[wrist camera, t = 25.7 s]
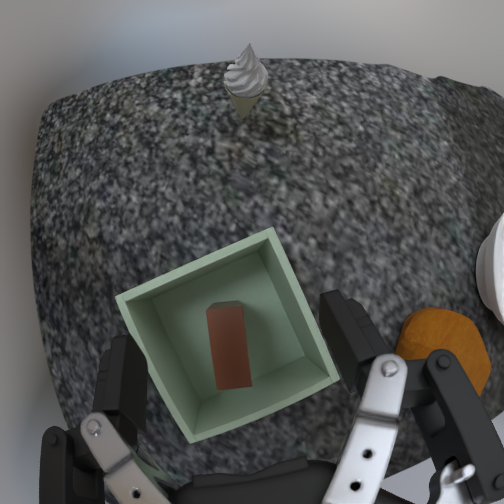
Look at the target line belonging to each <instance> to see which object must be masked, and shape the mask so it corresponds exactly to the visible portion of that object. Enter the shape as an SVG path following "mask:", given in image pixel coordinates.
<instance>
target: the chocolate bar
mask: <svg viewBox="0 0 504 504" xmlns="http://www.w3.org/2000/svg"><path fill="white" fill-rule="evenodd" d="M206 316H207V324H208V332H209V340H210V347H211V355H212V362H213V369H214V375H215V382H216V388H217V390H228V389H238V388H247V387H252V379H251V371H250V363H249V355H248V347H247V338H246V330H245V321H244V313H243V306H242V305H241V304H240V302H239V301H238V300H235V301H226V302H216V303H213V304H212V305H211V306H210V307H209V308H208V309H207V310H206Z"/></svg>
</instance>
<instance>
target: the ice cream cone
mask: <svg viewBox="0 0 504 504" xmlns="http://www.w3.org/2000/svg"><path fill="white" fill-rule="evenodd" d="M237 58H238V60H235V63H236V64H235V65H233V64H231V65H229V66H228V67H227V69H228V70H231V71H229V72H227V73H226V74H225V75H224V76H225V77H226V78H225V82H224V85H225V88H226V90H227V91H228V92H229V94H230V96H231V98H232V101H233V103H234V105H235V107H236V109H237V111H238V113H239V116H240V118H241V119H244V118H245V117H246V115H247V114H248V112H249V111H250V110H251V108H252V107H253V105H254V104H255V103H256V101H257V100H258V98H259V97H260V96H261V95H262V94H263V93H264V92H265V90H266V88H267V79H268V73H267V71H266V69H265V67H264V66H263V64H261V63H260V59H259V58H258V57H257V56H256V55H255V53H254V51H253V50H252V47H251V45H250V44H249V45H248V46H247V48H246V49H245V50H244V51H243V52H242V53H241V55H239V56H237Z"/></svg>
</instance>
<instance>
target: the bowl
mask: <svg viewBox="0 0 504 504" xmlns="http://www.w3.org/2000/svg"><path fill="white" fill-rule="evenodd" d="M476 282H477V287H478V291H479V295H480V297H481V299H482V302H483V303H484V304H485V306H486V307H487V308H488V309H490V310H492V311H493V313H494V314H495V316H496V318H497V319H498V320H499V321H500V322H501V323H502V324H503V325H504V214H503V215H502V216H501V217H500V218H499V220H498V221H497V222H496V223H495V224H494V226H493V228H492V230H491V232H490V235H489V236H488V237H487V238H486V239H485V240H484V241H483V243H482V244H481V246H480V249H479V252H478V256H477V262H476Z"/></svg>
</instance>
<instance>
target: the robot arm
mask: <svg viewBox="0 0 504 504" xmlns="http://www.w3.org/2000/svg"><path fill="white" fill-rule="evenodd" d="M319 321H320V326H321V330H322V332H323V334H324V337H325V339H326V341H327V343H328V345H329V347H330V350H331V352H332V354H333V356H334V358H335V361H336V363H337V365H338V367H339V370H340V372H341V374H342V376H343V378H344V381H345V383H346V385H347V387H348V390H349V392H350V393H352V392H355V391H358V392H359V395H360V397H361V398H360V401H359V404H358V407H357V410H356V413H355V416H354V419H353V422H352V425H351V427H350V430H349V433H348V436H347V438H346V441H345V443H344V446H343V448H342V450H341V453H340V455H339V458H338V460H337V463H336V464H334V463H331V462H327V461H321V460H307V457H306V456H302V457H299V458H295V459H291V460H287V461H283V462H278V463H276V464H274V465H272V466H270V467H267V468H265V469H263V470H261V471H258V472H256V473H254V474H251V475H237V474H225V473H215V474H205V475H194V476H192V480H193V481H191V482H189V483H187V484H185V485H183V486H180V485H179V484H177V483H176V482H175V481H174V480H173V479H172V478H171V477H170V476H168V475H167V474H166V473H165V472H164V471H163V470H162V469H161V468H160V467H159V466H158V465H157V464H156V462H155V461H154V460H153V459H152V458H151V457H150V455H149V454H148V453H147V452H146V451H145V449H144V448H143V447H142V446H141V445H140V443H139V442H138V441H137V434H146V403H147V377H148V364H147V360H146V357H145V355H144V353H143V352H142V350H141V349H140V347H139V346H138V344H137V343H136V341H135V340H134V338H133V337H132V335H130V334H129V335H122V336H116V337H114V338H113V340H112V344H111V350H106V351H105V353H104V355H103V356H102V358H101V360H100V365H99V370H98V371H99V372H98V376H97V382H96V388H95V395H94V402H93V409H92V413H91V414H89V415H87V416H86V417H85V418H84V420H83V421H82V424H81V426H79V427H76V428H73V429H70V430H67V431H64V430H63V429H61V428H60V427H57V426H52V427H50V428H48V429H47V430H46V431H45V433H44V435H43V437H42V446H41V458H40V479H39V504H105V496H104V482H105V483H106V485H107V486H108V488H109V489H110V491H111V492H112V493H113V495H114V496H115V497H116V499H117V500H118V501H119V503H120V504H414V503H412V502H410V501H407V500H405V499H403V498H400V497H398V496H396V495H394V494H392V493H390V492H388V491H386V490H384V489H382V488H380V486H381V483H382V481H383V478H384V475H385V472H386V469H387V466H388V463H389V460H390V457H391V453H392V450H393V446H394V443H395V439H396V436H397V432H398V428H399V421H398V415H399V411H400V409H402V408H411V410H412V412H413V414H414V417H415V419H416V421H417V424H418V426H419V428H420V431H421V433H422V436H423V438H424V440H425V443H426V445H427V448H428V450H429V453H430V456H431V458H432V461H433V463H434V466H435V469H436V472H435V473H434V474H433V476H432V477H431V479H430V483H429V490H430V497H429V501H428V503H427V504H490V503H493V502H495V501H498V500H501V499H503V498H504V448H503V445H502V443H501V440H500V438H499V436H498V434H497V432H496V430H495V427H494V425H493V423H492V421H491V419H490V417H489V415H488V413H487V411H486V409H485V407H484V405H483V403H482V401H481V399H480V398H479V396H478V394H477V392H476V390H475V388H474V387H473V385H472V383H471V381H470V379H469V378H468V376H467V374H466V372H465V371H464V369H463V367H462V366H461V364H460V362H459V361H458V359H457V357H456V356H455V355H454V354H453V353H452V352H451V351H449V350H447V349H436V350H434V351H432V352H431V353H430V354H429V356H428V358H424V359H415V360H404V359H402V358H401V357H399V356H398V355H395V354H393V353H392V352H391V351H390V350H389V348H388V347H387V345H386V343H385V342H384V340H383V338H382V337H381V335H380V333H379V332H378V330H377V329H376V327H375V325H374V324H373V323H372V320H371V319H370V317H369V316H368V314H367V313H366V311H365V309H364V308H363V306H362V305H361V304H360V303H358V302H357V301H355V300H354V299H353V298H350V299H347V300H345V299H344V298H343V296H342V294H341V293H340V291H339V290H338V289H336V290H333V291H329V292H325V293H322V294H320V304H319ZM103 471H104V473H105V475H103Z"/></svg>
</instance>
